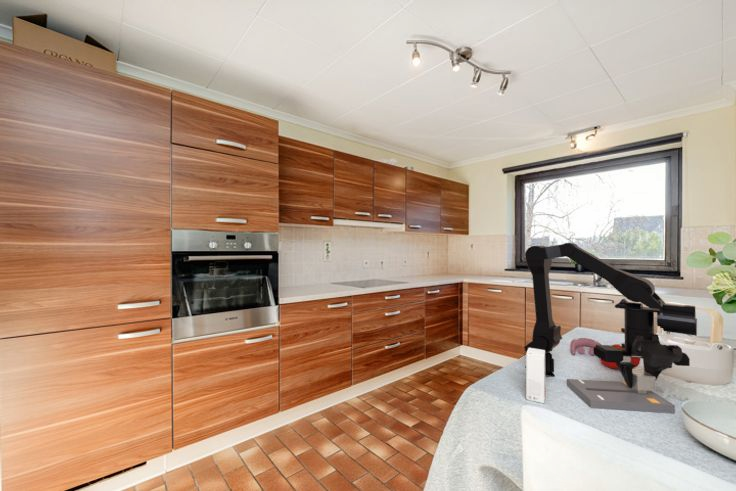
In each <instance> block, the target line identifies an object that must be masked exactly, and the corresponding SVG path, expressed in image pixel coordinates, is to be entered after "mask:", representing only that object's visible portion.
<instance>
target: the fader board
mask: <svg viewBox="0 0 736 491" xmlns="http://www.w3.org/2000/svg"><path fill="white" fill-rule="evenodd" d="M566 386H567V387H568V388H569V389H570V391H572V392H573V393H574V394H575V395H576V396H577V397H579V399H580V400H582V402H584V404H586V405H587V406H588V407H589V408H590V409H600V410H601V409H603V410H615V411H616V410H617V411H627V412H628V411H630V412H644V413H646V412H647V413H660V414H661V413H662V414H673V415H674V414H675V412H676V410H675V409H676V406H675V404H673V403H672V402H670V401H669V400H667V399H665V398H664V397H663V396H661V395H659V394H658V393H656V392H655V391H647V394H640V393H637V392H635V391H634V390H632V388H629V387H628V386H627V384H626V382H625V381H616V380H615V381H612V380H595V379H575V378H566Z"/></svg>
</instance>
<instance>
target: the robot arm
mask: <svg viewBox="0 0 736 491" xmlns="http://www.w3.org/2000/svg"><path fill="white" fill-rule="evenodd" d="M564 257H565V258H566V257H567V258H568V259H569V260H572V261H573V262H575V263H577V264H578V265H580V266H582V267H583V268H585V269H587V270H589V271H590V272H592V273H593V274H595V275H596V276H599V277H600V278H601V279H604V280H605V281H607V282H608V283H609V284H611V286H612V287H613V288H614V289H615V290H616V291H617V292H618V293H620V294H621V295H622V296H623V297H624V298H622V299H621V300H620V301H619V302H618V303H617V304H615V305H614V308H615V309H621V310H622V309H623V310H624V312H623V313H624V327H621V328H620V329H621V331H620V332H621V333H622V334H624V343H622V342H621V345H620V346H621V347H622V348H624V349H625V350H618V349H616V348H615V347H613V346H612V344H610V345H608V344H601V345H596V346H595V347H594V356H595V357H597V358H599V359H602V360H603V361H605V362H613V363H616V365H617V366H618V368H619V369H618V370H619V372H620V374H621V376H622V377H623V381H624V380H625V381H624V382H626V384H627V386H628V387H629V388H632V385H633V377H632V369H633V368H634V367H635V365H634V364H633V363H631V358H640V359H642V361H643V370H644V371H646V372H648V373H650V374H651V375H653V376H655V377H656V381H657V380H658V378H659V376H660V375H661V373H662V372H663V371H666V370H667V369H672V367H673V365H675V366H679V367H682V366H683V367H690V366H691V364H690V357H689V355H688V354H687V353H686V352H683V350H682V348H681V347H680V346H679V345H676V344H668V345H667V344H662V343H661V342H660V337H659V334H657V333H655V313H656V325H657V327H659V329H662V330H663V332H667V333H668V332H669V333H675V334H682V335H687V336H688V335H689V336H693V337H696V336H698V318H697V316H696V315H697V314H696V306H695V305H691V304H690V305H686V304H685V305H681V304H679V305H678V304H670V303H669V304H668V303H666V302H665V301H664V300H663V299H662V298H661V297H660V296H659V295H658V294H657V293H656V288H655V285H654V283H653V282H652V281H651V280H649V279H647V278H645V277H641V276H639V275H636V274H634V273H631V272H629V271H625V270H622V269H619V268H618V267H615V266H614V265H611V264H610V263H608V262H607V261H605V260H603V259H601V258H600V257H598V256H596V255H595V254H593V253H590V252H588V251H587V250H585V249H584V248H582V247H579V246H578V244H576V243H574V242H565V243H561V244H558V245H557V244H556V245H550V246H545V245H532V246H530V247H528V248H527V249H526V250H525V253H524V258H525V261H526V264H527V268H528V270H529V272H530V273H531V277H532V286H533V300H534V309H535V310H534V312H535V322H534V327H533V330H532V341H530V342H529V343H528V344H526V345H525V346H524V347H523V348H524V351H525V353H527V350H528V348H535V349H541V350H545V377H555V373H554V372H555V359H554V358H553V353H551V352H552V351H553V349H554V348H556V347H557V346H558V345H560V343H561V342H560V341H561V340H562V339H563V337H562V334H561V330H562V326H561V325H557V324H555V321H554V319H553V310H552V299H551V298H552V297H551V288H550V286H551V285H550V275H549V274H550V270H551V268H552V264H553V263H552V262H553V259H559V258H564ZM628 300H629V301H628ZM524 367H525V369H526V365H525V366H524ZM635 368H636V367H635ZM635 368H634V369H635Z"/></svg>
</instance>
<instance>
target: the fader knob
mask: <svg viewBox="0 0 736 491" xmlns="http://www.w3.org/2000/svg"><path fill="white" fill-rule="evenodd" d="M632 377H633V385H632V390H634V391H635V392H637V393H640V394H647V391H653V392H655V391H657V389H656V387H657V385H656V381H657V380H656V377H655V376H653V375H651V374H650V373H648V372H646V371H644V369H643V368H633V369H632ZM623 382H625V380H624V379H623Z"/></svg>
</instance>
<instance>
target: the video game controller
mask: <svg viewBox="0 0 736 491" xmlns="http://www.w3.org/2000/svg"><path fill="white" fill-rule="evenodd" d="M596 345H602V343H601V342H599V341H598V340H595V339H592V338H587V337H579V338H578V337H577V338H574V339H572V340H571V342H570V348H569V349H570V353H571V355H572V356H574V355H576V352H577V353H579V355H583V354H585V353H586V349H585V348H584V347H587V348H589V349H588V351H587V352H588V354H589V355H590V356H595V355H594V347H595V346H596Z"/></svg>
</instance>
